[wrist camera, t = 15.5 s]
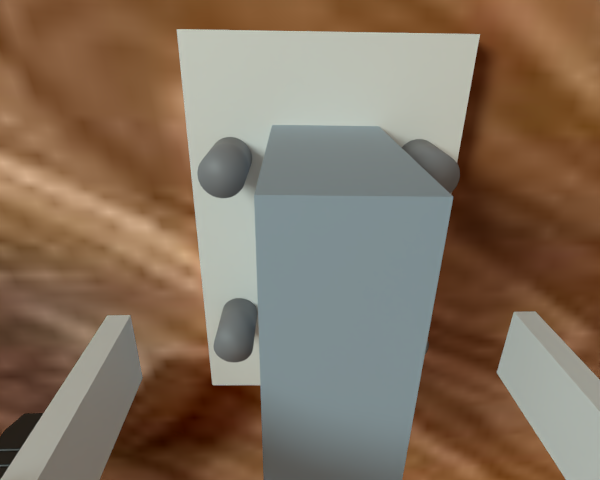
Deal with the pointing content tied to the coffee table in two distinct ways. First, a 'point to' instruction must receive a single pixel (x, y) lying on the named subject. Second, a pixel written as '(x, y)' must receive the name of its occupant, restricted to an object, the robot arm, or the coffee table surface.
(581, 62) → the coffee table surface
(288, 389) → the slate block
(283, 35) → the pegboard
